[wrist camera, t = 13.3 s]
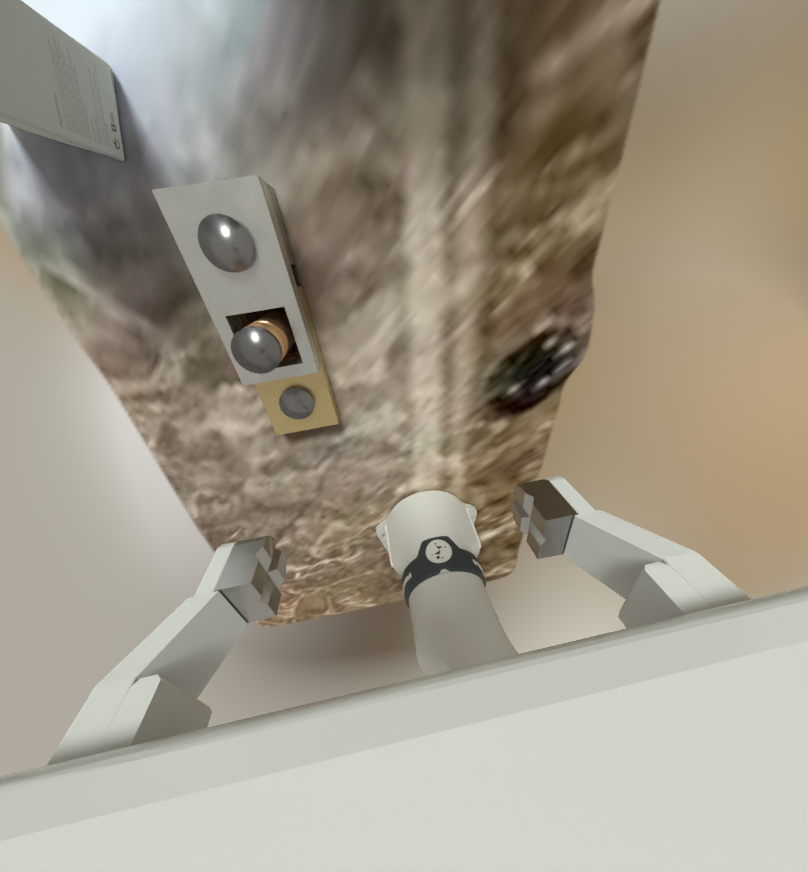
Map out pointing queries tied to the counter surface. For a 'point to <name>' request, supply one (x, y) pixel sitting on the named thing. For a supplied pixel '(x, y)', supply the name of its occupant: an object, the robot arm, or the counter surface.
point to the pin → (263, 343)
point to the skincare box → (55, 84)
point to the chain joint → (251, 288)
